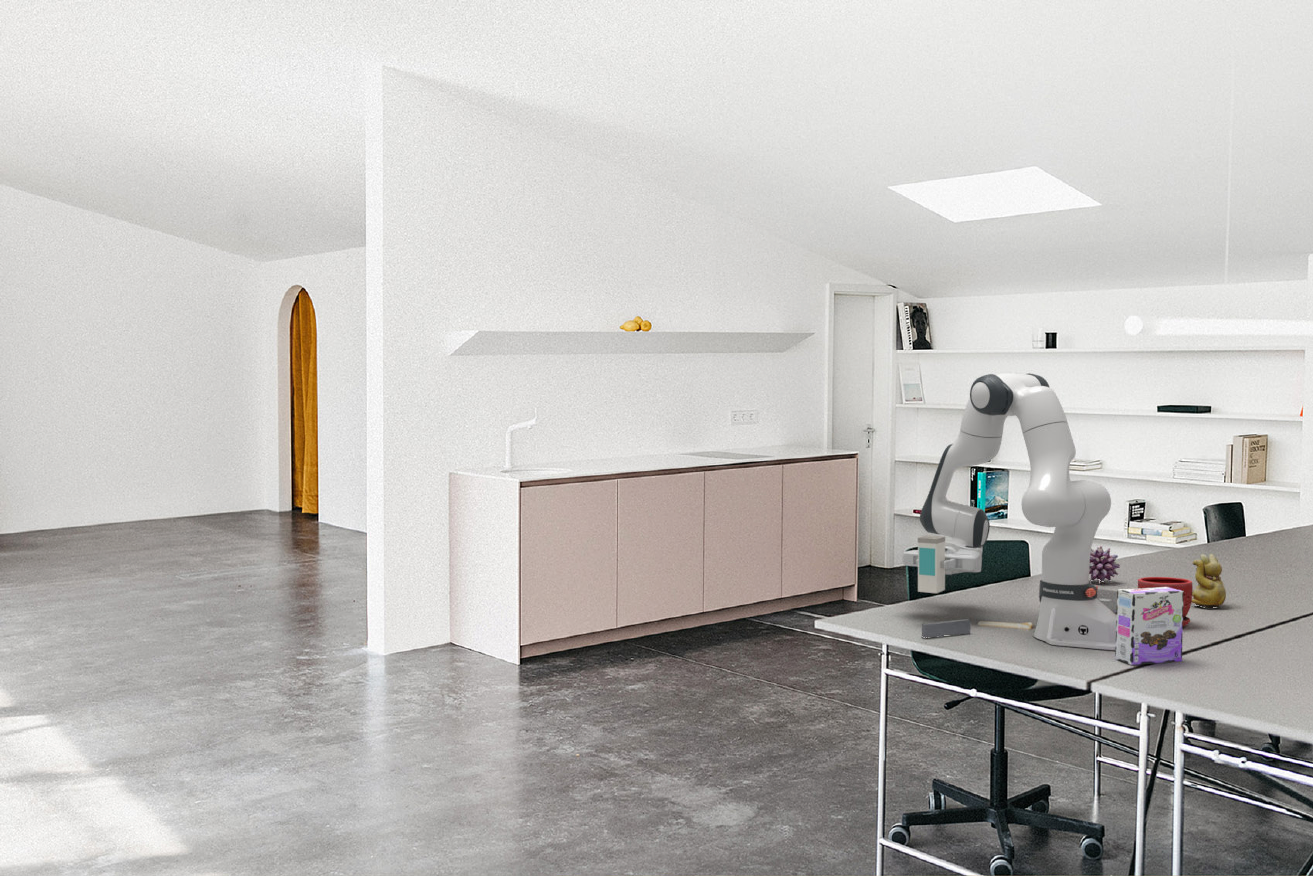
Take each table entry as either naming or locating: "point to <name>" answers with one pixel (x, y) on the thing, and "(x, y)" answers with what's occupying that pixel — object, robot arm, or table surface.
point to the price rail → (946, 628)
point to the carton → (931, 564)
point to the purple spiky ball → (1102, 564)
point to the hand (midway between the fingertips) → (930, 564)
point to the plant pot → (1175, 584)
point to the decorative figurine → (1208, 583)
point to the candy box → (1149, 625)
